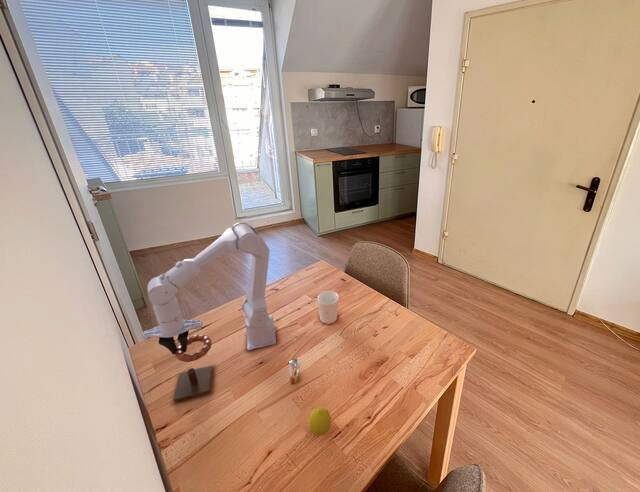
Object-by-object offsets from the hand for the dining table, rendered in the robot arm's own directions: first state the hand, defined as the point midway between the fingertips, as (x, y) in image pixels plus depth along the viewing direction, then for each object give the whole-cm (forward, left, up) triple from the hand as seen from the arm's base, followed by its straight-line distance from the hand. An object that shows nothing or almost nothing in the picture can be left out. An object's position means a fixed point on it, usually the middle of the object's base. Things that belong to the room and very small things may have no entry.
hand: (180, 350), depth 88 cm
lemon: (-36, +31, -9) cm, 48 cm away
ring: (-32, +14, -9) cm, 36 cm away
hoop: (-4, 0, 0) cm, 4 cm away
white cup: (-48, -9, -9) cm, 50 cm away
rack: (-3, +6, -9) cm, 11 cm away
